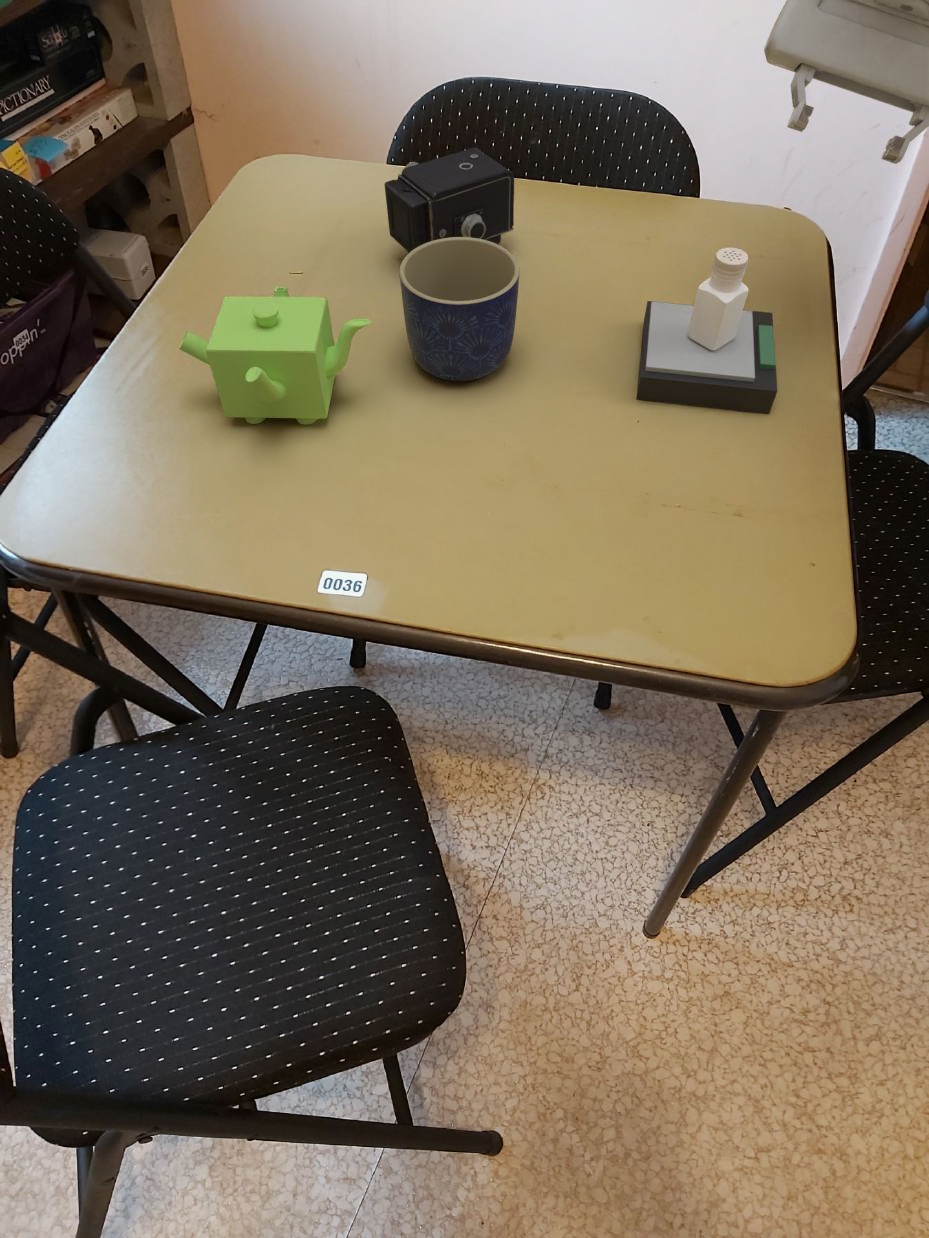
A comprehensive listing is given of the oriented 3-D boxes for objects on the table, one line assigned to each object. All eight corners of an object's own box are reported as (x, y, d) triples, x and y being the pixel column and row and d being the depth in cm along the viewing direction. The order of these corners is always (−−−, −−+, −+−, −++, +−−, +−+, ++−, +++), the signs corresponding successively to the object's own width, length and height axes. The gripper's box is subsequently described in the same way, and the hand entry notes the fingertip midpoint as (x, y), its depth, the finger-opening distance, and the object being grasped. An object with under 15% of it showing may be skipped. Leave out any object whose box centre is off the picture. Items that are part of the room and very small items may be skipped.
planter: (461, 312, 100) (460, 223, 91) (538, 358, 95) (544, 268, 86) (383, 357, 95) (374, 268, 86) (459, 408, 90) (458, 318, 81)
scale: (765, 335, 97) (774, 307, 94) (769, 414, 89) (779, 386, 86) (643, 323, 98) (648, 296, 95) (636, 399, 90) (641, 372, 87)
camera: (472, 229, 113) (375, 252, 107) (480, 138, 105) (375, 158, 99) (518, 264, 108) (419, 290, 102) (530, 172, 99) (422, 194, 93)
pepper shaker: (684, 337, 91) (703, 255, 83) (707, 323, 92) (728, 240, 85) (713, 354, 89) (735, 271, 81) (736, 339, 90) (761, 256, 83)
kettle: (381, 401, 90) (371, 309, 81) (277, 467, 85) (253, 376, 76) (295, 342, 97) (276, 250, 88) (192, 400, 91) (160, 308, 82)
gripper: (812, -78, 71) (746, 99, 76) (1039, -1, 71) (960, 171, 76) (792, -45, 77) (731, 118, 82) (1001, 26, 77) (930, 185, 82)
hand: (843, 144), depth 79 cm, fingers open, 8 cm apart
